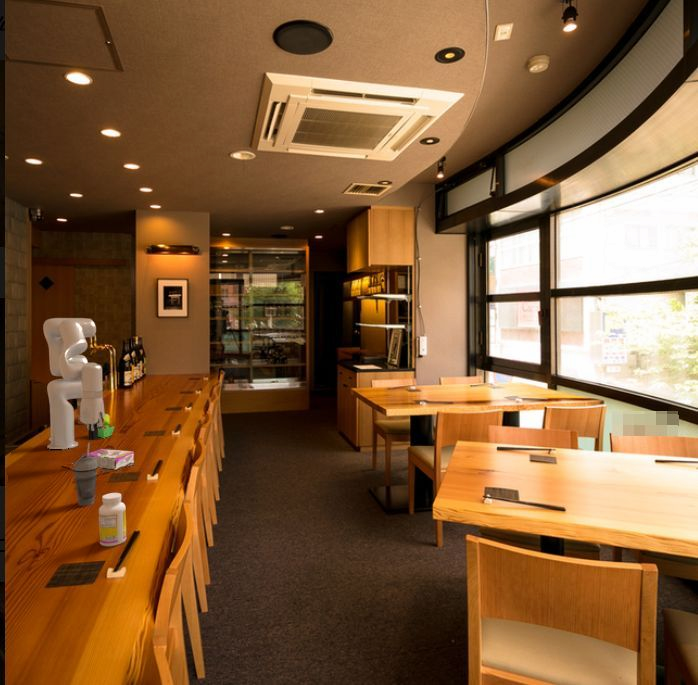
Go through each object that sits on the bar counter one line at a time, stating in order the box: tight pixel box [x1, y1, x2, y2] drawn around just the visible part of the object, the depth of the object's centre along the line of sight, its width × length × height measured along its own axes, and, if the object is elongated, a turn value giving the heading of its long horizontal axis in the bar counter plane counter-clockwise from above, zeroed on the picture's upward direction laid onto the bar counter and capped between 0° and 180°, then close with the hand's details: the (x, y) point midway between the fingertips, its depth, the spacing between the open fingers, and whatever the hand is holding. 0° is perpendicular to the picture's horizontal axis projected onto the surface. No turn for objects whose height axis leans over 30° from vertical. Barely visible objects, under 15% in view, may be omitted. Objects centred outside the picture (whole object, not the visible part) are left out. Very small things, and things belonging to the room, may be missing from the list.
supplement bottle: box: [98, 492, 127, 547], centre depth 140 cm, size 7×7×13 cm
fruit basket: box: [98, 413, 115, 439], centre depth 261 cm, size 11×9×11 cm
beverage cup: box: [72, 442, 98, 507], centre depth 168 cm, size 7×7×20 cm
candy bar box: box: [81, 448, 135, 470], centre depth 211 cm, size 11×5×16 cm
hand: (93, 439), depth 211 cm, fingers closed
